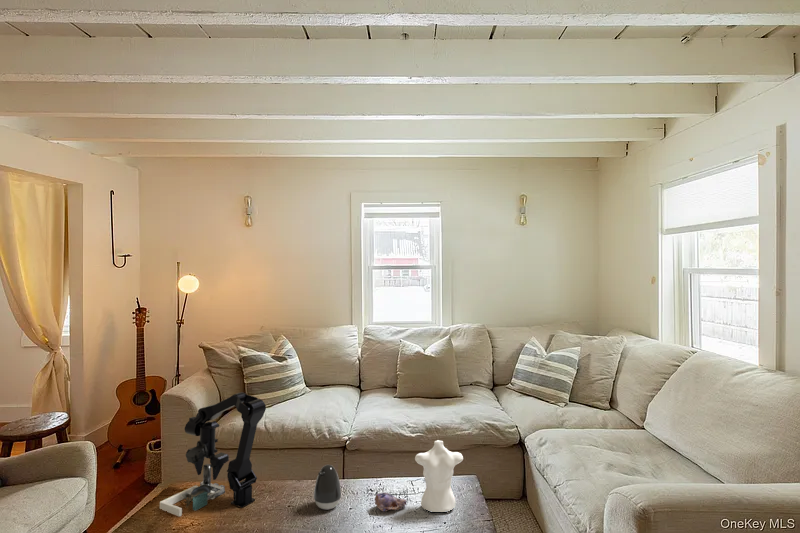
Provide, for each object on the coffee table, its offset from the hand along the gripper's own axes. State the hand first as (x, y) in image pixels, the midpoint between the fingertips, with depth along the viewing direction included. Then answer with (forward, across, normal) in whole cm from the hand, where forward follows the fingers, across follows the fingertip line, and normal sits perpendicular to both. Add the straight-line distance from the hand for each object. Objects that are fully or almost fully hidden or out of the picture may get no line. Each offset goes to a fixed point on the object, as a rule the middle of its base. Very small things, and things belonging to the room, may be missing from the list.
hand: (206, 477), depth 175 cm
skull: (+6, +72, +23) cm, 76 cm away
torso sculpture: (+6, +87, +33) cm, 93 cm away
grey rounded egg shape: (+6, +50, +14) cm, 52 cm away
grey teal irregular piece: (+5, +4, -6) cm, 8 cm away
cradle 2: (+5, +7, 0) cm, 9 cm away
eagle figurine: (+6, +5, -8) cm, 11 cm away
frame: (+5, +3, -10) cm, 12 cm away
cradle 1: (+5, +3, 0) cm, 6 cm away
